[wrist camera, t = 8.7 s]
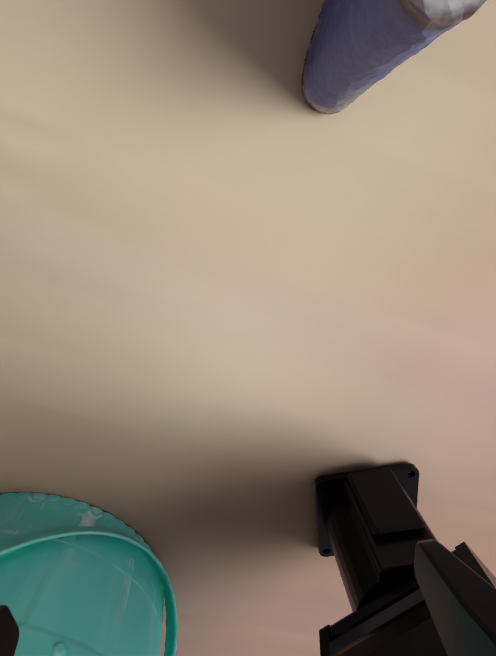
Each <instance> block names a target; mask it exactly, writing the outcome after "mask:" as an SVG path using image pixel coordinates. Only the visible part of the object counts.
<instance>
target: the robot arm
mask: <svg viewBox="0 0 496 656" xmlns="http://www.w3.org/2000/svg"><path fill="white" fill-rule="evenodd" d="M410 471H411V472H410ZM418 481H419V471H418V469H417V468H416V467H415V465H414V464H411V463H408V464H401V465H394V466H387V467H380V468H373V469H366V470H360V471H353V472H346V473H339V474H332V475H325V476H320V477H318V478H317V479H316V480H315V483H314V485H315V504H316V522H317V541H318V549H319V553H320V555H321V556H324V557H328V556H335V559H336V562H337V565H338V568H339V571H340V574H341V577H342V581H343V584H344V587H345V590H346V593H347V596H348V599H349V602H350V605H351V608H352V611H353V612H352V613H351V614H349V615H347V616H346V617H344V618H343V619H341V620H339V621H338V622H336V623H334V624H333V625H331V626H330V625H327V626H325V627H324V628H322V629H320V630H319V636H320V655H321V656H496V578H495V576H494V575H493V574H492V573H491V572H490V571H489V570H488V568H487V567H486V566H485V565H484V564H483V563H482V561H481V560H480V559H479V558H478V557H477V556H476V555H475V553H474V552H473V551H472V550H471V549H470V548H469V546H468V545H467V544H466V543H465V542H463V543H461V544H459V545H458V546H456V547H455V549H456V550H454V551H452V552H450V551H449V550H448V549H447V548H445V547H444V546H443V545H442V544H440V543H439V542H438V541H437V539H436V538H435V536H434V535H433V533H432V532H431V530H430V528H429V527H428V525H427V524H426V522H425V521H424V519H423V517H422V516H421V514H420V513H419V511H418V510H417V495H418ZM322 484H325V485H322ZM18 640H19V627H18V625H17V623H16V621H15V619H14V617H13V615H12V613H11V611H10V609H9V607H8V606H7V605H0V656H14V655H15V651H16V648H17V644H18Z"/></svg>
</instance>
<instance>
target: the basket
mask: <svg viewBox="0 0 496 656" xmlns="http://www.w3.org/2000/svg"><path fill="white" fill-rule="evenodd" d="M164 598H165V606H166V617H167V618H166V641H165V652H164V656H176V648H177V633H178V620H177V608H176V600H175V595H174V591H173V588H172V585H171V582H170V579H169V577H168V575H167V573H166V571H165V569H164V567H163V565H162V564H161V563H160V561H159V560H158V559H157V558H156V556H155V554H154V553H153V552H152V551H151V550H150V547H149V545H148V544H147V543H145V542H144V540H143V538H142V537H141V536H140V535H138V534H136V533H135V531H134V530H133V529H132V528H131V527H128V526H126V525H125V523H124V522H123V521H121V520H119V519H116V518H115V517H114V516H113V515H111V514H110V513H107V512H103V511H102V510H101V509H99V508H97V507H92V506H89V505H88V504H87V503H85V502H78V501H75V500H74V499H72V498H62V497H60V496H58V495H52V494H51V495H46V494H44V493H33V494H32V493H29V492H20V493H12V492H9V493H4V494H0V605H7V606H8V607H9V609H10V611H11V613H12V615H13V617H14V619H15V621H16V623H17V625H18V627H19V640H18V644H17V648H16V651H15V655H14V656H159V654H160V643H161V633H162V621H163V607H164Z"/></svg>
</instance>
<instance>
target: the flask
mask: <svg viewBox="0 0 496 656" xmlns="http://www.w3.org/2000/svg"><path fill="white" fill-rule="evenodd" d="M485 1H486V0H326V1H325V3H324V5H323V8H322V12H321V13H320V15H319V21H318V24H317V26H316V27H315V31H313V35H312V38H311V42H310V47H309V50H308V52H307V55H306V59H305V64H304V71H303V74H302V77H303V78H302V84H303V94H304V96H305V98H306V100H307V102H308V103H309V104H310V106H311V107H312V108H314V109H316V110H317V111H318V112H320V113H326V114H333V113H337V112H339V111H341V110H342V109H344V108H346V107H347V106H348V105H349V104H350V103H352V102H353V101H354V100H355V99H357V98H358V97H359V96H360V95H361V94H363V93H364V92H365V91H366V90H367V89H368V88H370V87H371V86H372V85H373V84H374V83H376V82H377V81H379V80H381V79H382V78H384V77H385V76H386V75H387V74H388V73H390V72H391V71H392V70H393V69H394V68H395V67H397V66H398V65H400V64H401V63H403V62H404V61H405V60H407V59H408V58H409V57H411V56H413V55H415V54H417V53H418V52H419V51H420V50H422V49H423V48H425V47H427V46H428V45H429V44H430V43H431V42H432V41H433V40H435V39H436V38H437V37H438V36H440V35H441V34H443V33H444V32H446V31H448V30H450V29H451V28H453V27H454V26H456V25H457V24H459V23H460V22H462V21H463V20H466V19H468V18H470V17H471V16H472V15H473V14H474V13H475V12H476V11H477V10H478V9H479V8H480V7H481V6H482V5H483V3H484V2H485Z"/></svg>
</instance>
